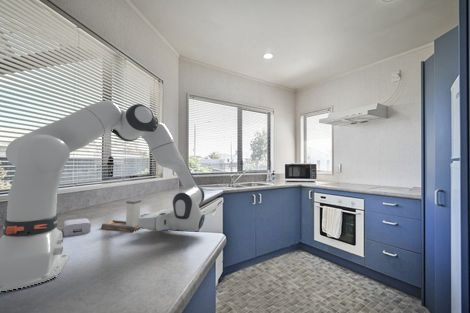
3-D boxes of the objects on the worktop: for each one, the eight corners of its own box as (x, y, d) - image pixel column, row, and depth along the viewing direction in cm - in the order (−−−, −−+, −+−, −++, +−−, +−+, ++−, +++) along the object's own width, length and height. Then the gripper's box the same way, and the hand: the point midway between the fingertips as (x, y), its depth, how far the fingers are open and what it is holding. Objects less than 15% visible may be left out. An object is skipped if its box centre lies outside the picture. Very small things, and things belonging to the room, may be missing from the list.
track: (144, 227, 108) (144, 223, 108) (133, 232, 100) (133, 227, 100) (113, 224, 111) (114, 220, 111) (101, 228, 104) (101, 224, 104)
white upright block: (140, 225, 107) (141, 200, 107) (132, 228, 102) (134, 201, 102) (132, 224, 108) (133, 199, 108) (125, 227, 103) (126, 201, 103)
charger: (86, 225, 109) (90, 233, 97) (62, 227, 103) (63, 237, 91) (87, 215, 109) (90, 222, 97) (63, 217, 103) (64, 225, 92)
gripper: (179, 207, 111) (154, 205, 114) (157, 216, 91) (128, 213, 94) (179, 220, 111) (154, 217, 114) (156, 232, 91) (127, 228, 94)
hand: (142, 216), depth 104 cm, fingers closed
